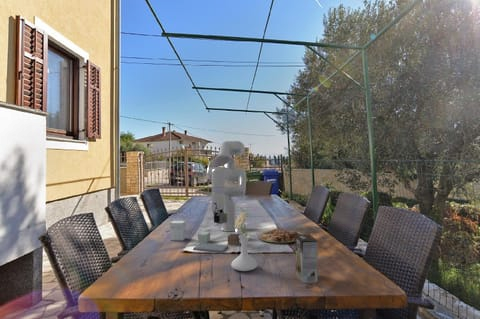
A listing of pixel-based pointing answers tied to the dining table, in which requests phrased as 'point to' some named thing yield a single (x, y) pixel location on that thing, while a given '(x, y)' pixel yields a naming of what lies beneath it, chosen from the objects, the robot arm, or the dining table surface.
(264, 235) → the rice dish
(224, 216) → the dice cube
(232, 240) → the walnut block
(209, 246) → the slate mat
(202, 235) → the sage block
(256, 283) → the dining table surface
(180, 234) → the small box
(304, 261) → the coffee box
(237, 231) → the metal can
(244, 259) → the flower in vase
